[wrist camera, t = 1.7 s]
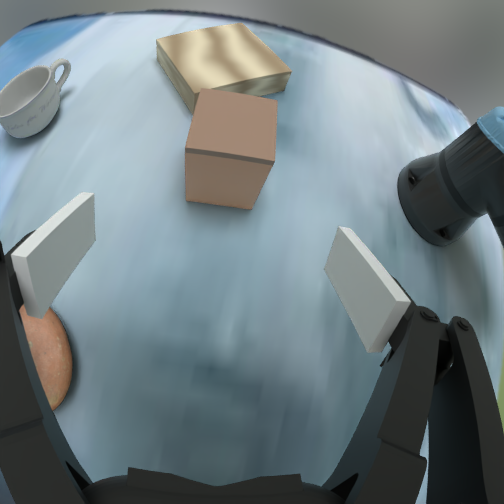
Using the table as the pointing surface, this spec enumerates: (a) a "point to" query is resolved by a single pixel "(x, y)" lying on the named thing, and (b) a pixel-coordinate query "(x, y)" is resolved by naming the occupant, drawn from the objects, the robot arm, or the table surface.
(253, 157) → the pink square box
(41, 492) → the robot arm
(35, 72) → the teacup
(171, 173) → the table surface
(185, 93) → the birch box
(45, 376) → the ceramic jug
